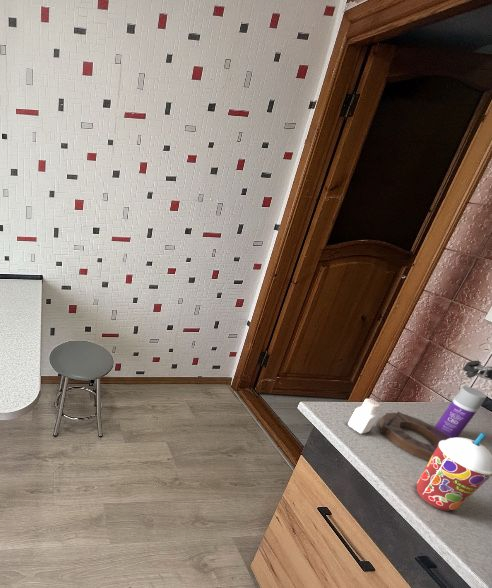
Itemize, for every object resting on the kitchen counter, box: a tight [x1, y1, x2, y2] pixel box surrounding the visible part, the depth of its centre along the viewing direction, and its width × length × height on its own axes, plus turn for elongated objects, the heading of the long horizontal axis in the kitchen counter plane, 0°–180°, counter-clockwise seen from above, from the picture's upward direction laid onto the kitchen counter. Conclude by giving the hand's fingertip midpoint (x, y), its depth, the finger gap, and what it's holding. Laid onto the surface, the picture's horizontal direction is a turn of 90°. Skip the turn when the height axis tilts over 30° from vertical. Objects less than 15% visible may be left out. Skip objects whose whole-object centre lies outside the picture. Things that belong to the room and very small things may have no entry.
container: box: [434, 386, 487, 438], centre depth 92 cm, size 5×5×15 cm
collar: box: [378, 411, 449, 462], centre depth 91 cm, size 15×15×2 cm
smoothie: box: [416, 432, 492, 512], centre depth 71 cm, size 8×8×20 cm
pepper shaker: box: [347, 398, 381, 435], centre depth 92 cm, size 4×4×10 cm
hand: (491, 383), depth 93 cm, fingers open, 8 cm apart
